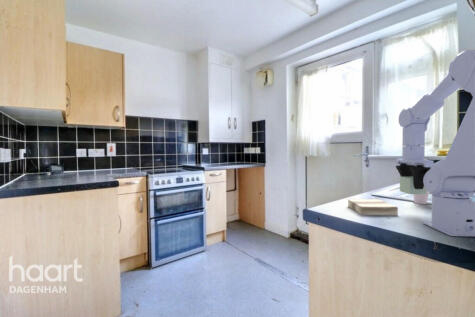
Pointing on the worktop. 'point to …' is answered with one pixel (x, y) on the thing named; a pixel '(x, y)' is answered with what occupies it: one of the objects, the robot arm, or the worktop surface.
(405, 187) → the sage cube
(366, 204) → the birch block
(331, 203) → the worktop surface
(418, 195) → the smoothie
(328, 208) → the worktop surface
